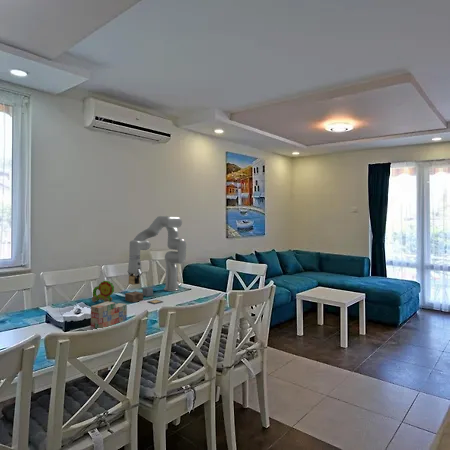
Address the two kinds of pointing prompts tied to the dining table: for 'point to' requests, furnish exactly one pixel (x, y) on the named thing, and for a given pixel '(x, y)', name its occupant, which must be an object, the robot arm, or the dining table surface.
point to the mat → (155, 301)
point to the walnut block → (134, 296)
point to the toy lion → (103, 292)
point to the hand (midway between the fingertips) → (134, 282)
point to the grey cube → (147, 291)
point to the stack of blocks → (107, 314)
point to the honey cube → (132, 280)
